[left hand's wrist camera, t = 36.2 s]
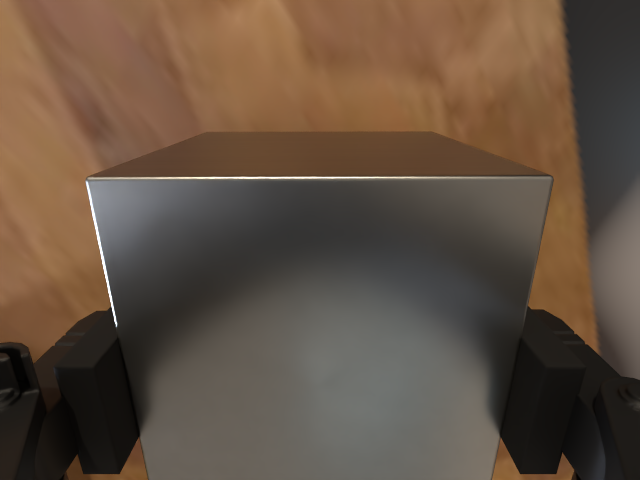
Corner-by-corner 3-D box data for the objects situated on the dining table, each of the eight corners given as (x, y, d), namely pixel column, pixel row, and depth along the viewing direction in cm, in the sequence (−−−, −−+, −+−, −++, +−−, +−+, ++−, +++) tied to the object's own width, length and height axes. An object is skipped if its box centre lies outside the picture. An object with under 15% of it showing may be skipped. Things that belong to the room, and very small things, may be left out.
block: (413, 342, 18) (482, 529, 10) (226, 343, 18) (157, 530, 10) (433, 131, 15) (557, 175, 7) (205, 131, 15) (82, 176, 7)
